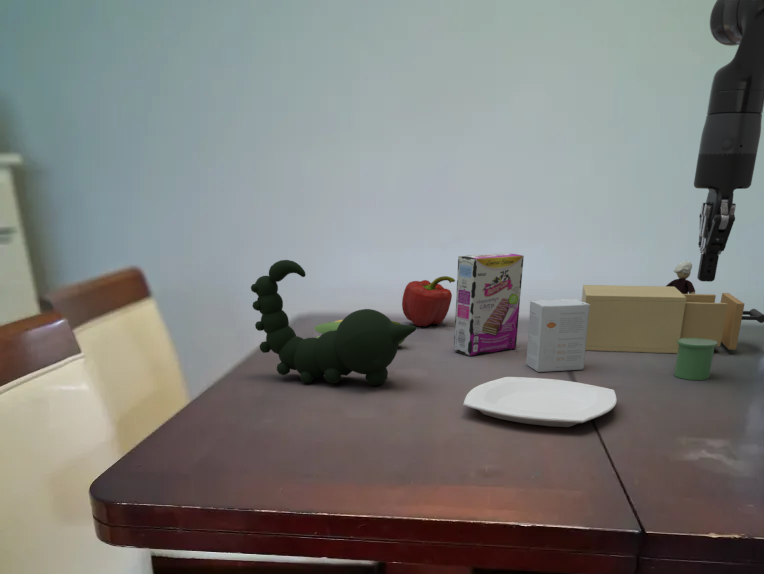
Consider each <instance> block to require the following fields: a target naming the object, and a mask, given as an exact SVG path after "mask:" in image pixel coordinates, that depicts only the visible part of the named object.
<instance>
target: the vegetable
mask: <svg viewBox="0 0 764 574" xmlns="http://www.w3.org/2000/svg"><path fill="white" fill-rule="evenodd" d="M444 281H448V282H449V284H452V283H455V282H456V280H455V278H454V277H451V276H447V275H444V276H439V277H437V278H435V279H434V280H433V281H429V280H427V279H423V280H420V281H419V280H412V281H410V282H408V283H407V284H406V286H405V288H404V291H403V293H402V298H401V299H402V301H401V307H402V308H401V309H402V312H403V315H404V316H405V318H406V320H408V321H410V322H411V323H412V324H413V325H414V326H416V327H421V326H427V327H429V326H431V325H430V324H438V325H439V324H441V323H443V321H444V320H445V318H446V317H447V315H448V313H449V309H450V306H451V302H452V297H453V294H452V291H451V290H450V289H449V288H444V287H443V285H442V284H440V283H441V282H444ZM428 325H429V326H428Z"/></svg>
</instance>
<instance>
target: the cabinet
mask: <svg viewBox="0 0 764 574" xmlns="http://www.w3.org/2000/svg"><path fill="white" fill-rule="evenodd" d="M581 301H582V302H585V303H588V304H590V308H589V319H588V328H587V339H586V349H585V351H593V352H595V351H596V352H598V351H600V352H620V353H621V352H623V353H651V354H652V353H653V354H677V351H678V345H679V344H677V340H678V339H680V335H681V329H682V323H683V316H684V310H685V303H686V297H685V296H684V295H683V294H682V293H681V292H680V291H679V290H678V289H677V288H675V287H670V286H666V285H663V286H662V285H661V286H660V285H616V284H615V285H612V284H611V285H609V284H607V285H606V284H582V293H581Z"/></svg>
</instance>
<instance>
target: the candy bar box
mask: <svg viewBox="0 0 764 574" xmlns="http://www.w3.org/2000/svg"><path fill="white" fill-rule="evenodd" d="M457 257H458V259H457V276H456V278H457V280H456V295H455V300H456V301H455V316H454V317H455V318H454V319H455V320H454V336H453V337H454V339H453V351H454V352H456V353H458V354H462V355H464V356H468V357H469V356H475V355H484V354H489V353H490V354H491V353H496V352H503V351H508V350H514V349H515V350H516V348H517V339H518V328H519V316H520V303H521V294H522V293H521V292H522V280H523V269H524V268H523V267H524V258H525V256H524V255H522V254H517V253H509V252H508V253H507V252H501V253H500V252H499V253H486V254H485V253H484V254H468V255H459V256H457Z"/></svg>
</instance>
